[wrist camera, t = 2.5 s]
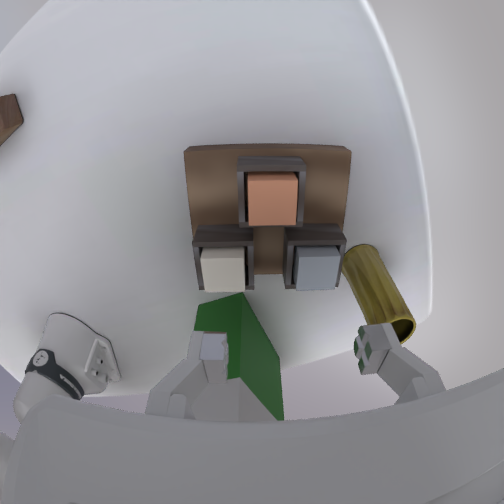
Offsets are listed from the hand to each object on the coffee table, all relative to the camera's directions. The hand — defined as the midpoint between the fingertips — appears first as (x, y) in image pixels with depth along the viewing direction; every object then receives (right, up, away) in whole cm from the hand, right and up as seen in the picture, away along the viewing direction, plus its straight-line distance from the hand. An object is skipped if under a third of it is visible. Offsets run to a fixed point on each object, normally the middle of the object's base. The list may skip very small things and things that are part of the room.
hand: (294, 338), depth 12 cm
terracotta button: (0, +10, +16) cm, 19 cm away
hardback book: (-3, -10, +35) cm, 37 cm away
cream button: (-5, +3, +20) cm, 21 cm away
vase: (+14, +3, +27) cm, 31 cm away
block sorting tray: (0, +9, +23) cm, 25 cm away
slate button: (+5, +3, +20) cm, 21 cm away
